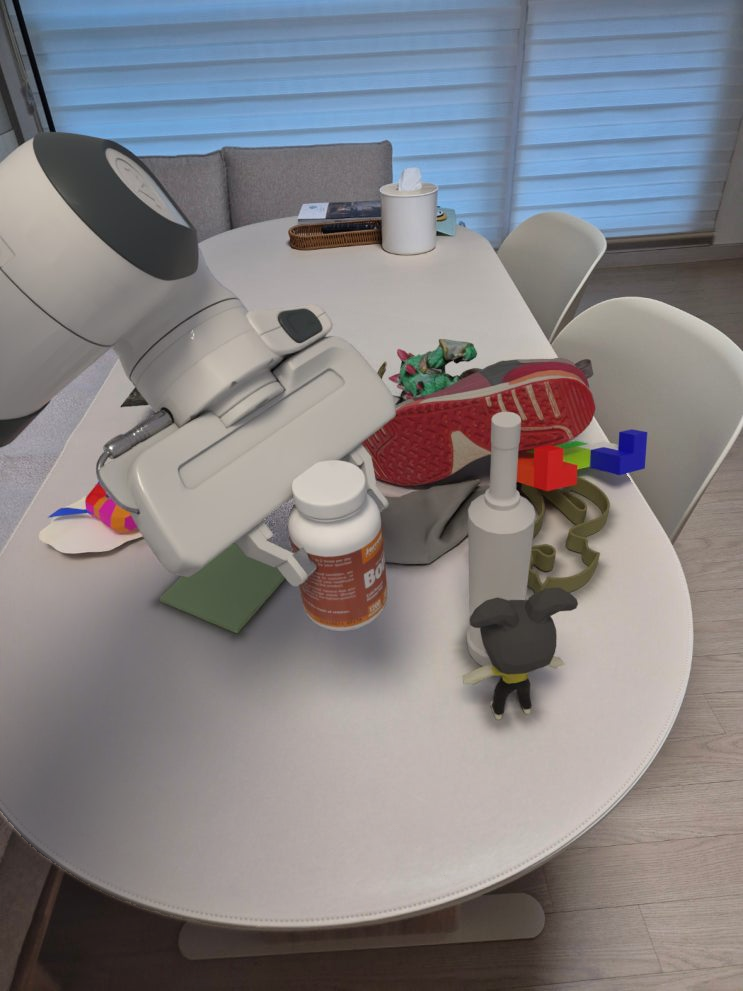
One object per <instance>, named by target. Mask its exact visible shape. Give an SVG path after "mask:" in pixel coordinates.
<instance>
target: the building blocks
mask: <svg viewBox="0 0 743 991" xmlns="http://www.w3.org/2000/svg"><path fill="white" fill-rule="evenodd" d="M647 445H648V432H647V431H643V430H638V429H633V428H632V429H627V430H622V431H619V432H618V444H617V443H612V442H608V441H603V440H602V441H597V442H592V443H588V442H583V441H579V440H574V441H568V442H566V443H563V444H560V445H556V446H552V445H547V446H542V447H536V448H534V449H531V450H523V451H518V465H517V481H516V483H519V484H522V483H523V484H526V485H529V486H532V487H535V488H539V489H542V490H545V491H550V490H554V489H558V490H559V489H562V488H564V487H567V486H572V485H576V484H577V476H578V470H582V469H585V468H589V469H593V470H596V471H601V472H606V473H609V474H612V475H617V476H622V475H626V474H630V473H633V472H637V471H641V470H645V469H646V461H647V460H646V458H647V457H646V456H647Z"/></svg>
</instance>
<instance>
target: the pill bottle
mask: <svg viewBox="0 0 743 991" xmlns="http://www.w3.org/2000/svg"><path fill="white" fill-rule="evenodd" d="M292 492H293V497H292V499H293V506H292V507H291V509H290V511H289V514H288V517H287V530H288V538H289V541H290V545H291V550H292V551H291V552H292V553H293V552H295V551H297V550H299V549H300V548H302V547H303V548H304V549H305V551H306V552H307V553H308V554H309V557H310V560H313V561H314V562H315V563H316V564H317V567H318V569H317V571H315V572H314V573H313V574H312V575H311V576H310V577H309V578H308V579H307V580H306V581H305V582H304V583H302V584H300V585H298V587H299V592H300V599H301V603H302V605H303V609H304V611H305V612H306V615H307V616H308V618H309V619H310V620H311V621H312V622H313V623H314V624H316V625H318V626H319V627H321V628H323V629H326V630H329V631H333V632H334V631H335V632H348V631H353V630H357V629H360V628H362V627H365V626H368V625H369V624H370V623H372V622H374V621H375V620H376V619H377V618H378V617H379V616H380V615H381V614H382V613H383V611H384V609H385V607H386V605H387V602H388V582H387V571H386V570H387V569H386V568H387V567H386V561H385V557H384V545H383V534H382V523H381V516H380V511H379V508H378V506H377V504H376V503H375V501H374V500H373V499H372V498H371V497H370V496H369V495H368V494H367V486H366V479H365V475H364V473H363V472H362V470H361V469H360V468H359V467H357V466H356V465H354V464H352V463H349V462H345V461H339V460H329V461H321V462H318V463H316V464H315V465H313V466H312V467H310V468H309V469H308V470H306V471H305V472H304V473H302V474H301V475H300V476H298V477H297V478H296V479H294V481H293V483H292Z"/></svg>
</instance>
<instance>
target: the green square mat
mask: <svg viewBox="0 0 743 991" xmlns="http://www.w3.org/2000/svg"><path fill="white" fill-rule="evenodd" d="M285 580H286V578H285V577H284V576H283V575H282V573H281V572H280V571H279V570H278V568H277V567H272V566H270V565H267V564H265V563H262V562H260V561H257V560H255V559H252V558H250V557H247V556H246V555H245V554H244V552H243V551H242V550H241V549H240V547H239V546H238V545H237V544H236V543H235V542H234V543H233V544H232V545H231V546H229V547H228V548H227V549H226V550H224V551H223V552H222V553H220V554H219V555H218V556H217V557H215V558H214V559H213V560H212V561H210V562H209V563H208V564H206V565H205V566H204V567H203V568H201V569H200V570H199V571H197V572H196V573H195V574H193V575H191V576H189V577H184V576H181V577H180V576H179V578H178V579H177V580H176V581H175V582H174V583H173V584H172V585H171V586H170V587H169V588H168V589H167V590H166V591H165V592H164V593H163V594H162V595H161V596H160V597H159V600H160V602H161V603H163V604H164V605H165V604H166V605H168V606H171V607H173V608H175V609H177V610H179V611H182V612H184V613H187V614H189V615H192V616H194V617H196V618H199V619H201V620H203V621H206V622H208V623H211V624H213V625H215V626H218V627H221V628H223V629H224V630H227V631H229V632H232V633H235V634H239V633H240V632H241V630H242V629H243V628H244V627H245V626H246V625H247V623H248V622H249V621H250V620H251V619H252V618H253V617H254V616H255V614H256V613H257V612H258V611H259V609H261V607H262V606H263V605H264V604H265V602H266V601H268V599H269V598H270V597H271V596H272V595H273V594H274V592H275V591H276V590H277V589H278V588H279V587H280V585H281V584H282V583H283V582H284V581H285Z"/></svg>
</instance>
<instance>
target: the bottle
mask: <svg viewBox="0 0 743 991" xmlns="http://www.w3.org/2000/svg"><path fill="white" fill-rule="evenodd" d="M520 430H521V418H520V416H519V415H517V414H515V413H512V412H500V413H497V414H495V415H494V416H493V417H492V422H491V455H490V468H489V485H490V488H489V489H487V490H486V492H485V494H483V495H480V496H479V497H477V498H476V499H475V500H474V501H472V502H471V505H470V507H469V509H468V535H467V536H468V537H467V538H468V539H467V541H468V542H467V543H468V545H467V546H468V605H469V606H468V611H469V613H468V616H469V619H470V617H471V615H472V613H473V612H474V610H475V609H476V608H477V607H478V606H480V605H481V604H482V603H483V602H485V601H486V600H489V599H493V598H497V597H498V598H502V599H505V600H527V599H526V598H527V590H528V585H527V583H528V574H529V566H530V557H531V549H532V546H533V539H534V537H533V532H534V524H535V521H536V515H537V514H536V510H535V507H534V504H533V503H532V502H530V501H529V500H528V499H527V498H526V497H524V496H522V495H520V492H519V490H517V488H516V484H517V465H518V449H519V443H520ZM468 621H469V622H468V623H469V625H468V628H467V631H466V632H465V634H466V636H465V637H466V645H467V651H468V653H469V655H470V656H471V659H472V660H473V661H474V662H475V663H477V664H478V665H480V666H481V667H482V666H484V665H486V664H489V663H491V660H490V658H489V657H488V656H487V655H486V653H485V652H484V651H485V647H484V645H483V641H482V637H481V632H480V628H474V627H472V626H471V625H470V620H468Z"/></svg>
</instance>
